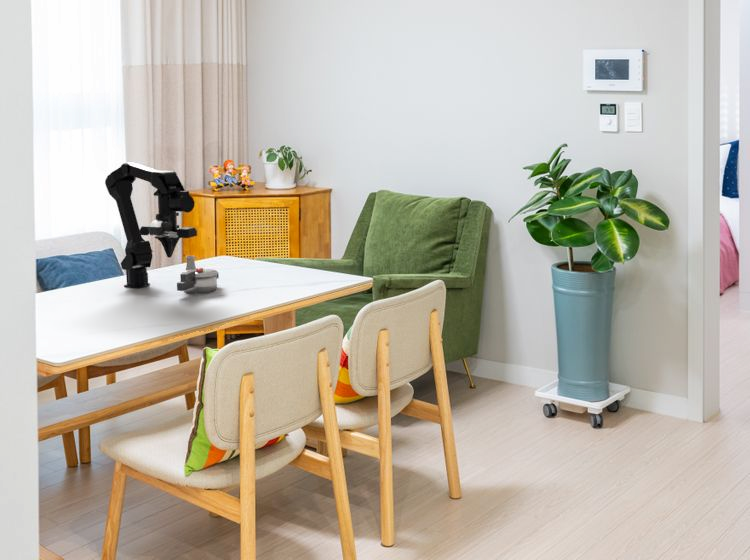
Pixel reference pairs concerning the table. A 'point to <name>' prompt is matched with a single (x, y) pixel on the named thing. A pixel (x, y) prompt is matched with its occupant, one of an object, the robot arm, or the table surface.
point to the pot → (199, 285)
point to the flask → (190, 263)
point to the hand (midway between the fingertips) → (169, 257)
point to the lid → (197, 274)
